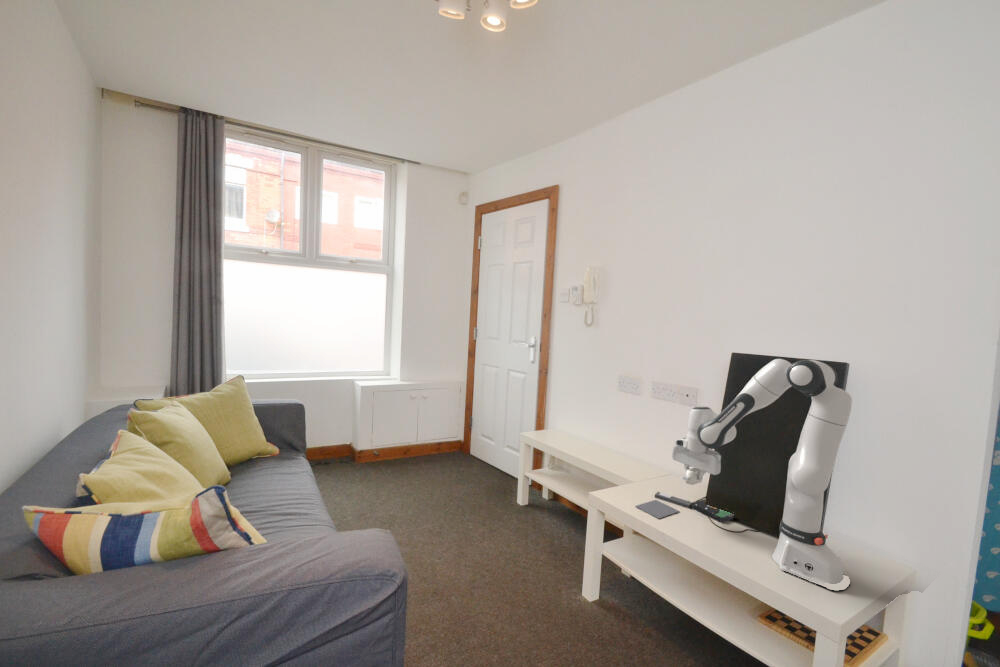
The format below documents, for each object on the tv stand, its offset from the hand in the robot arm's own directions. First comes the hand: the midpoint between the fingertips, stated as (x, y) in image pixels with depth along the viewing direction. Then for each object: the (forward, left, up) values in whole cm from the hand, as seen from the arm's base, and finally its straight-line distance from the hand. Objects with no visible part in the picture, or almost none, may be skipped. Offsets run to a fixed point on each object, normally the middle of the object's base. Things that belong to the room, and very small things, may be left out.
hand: (694, 477), depth 191 cm
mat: (+10, +8, -17) cm, 21 cm away
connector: (0, +1, -2) cm, 2 cm away
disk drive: (-3, -12, -17) cm, 21 cm away
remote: (+12, -6, -17) cm, 22 cm away
